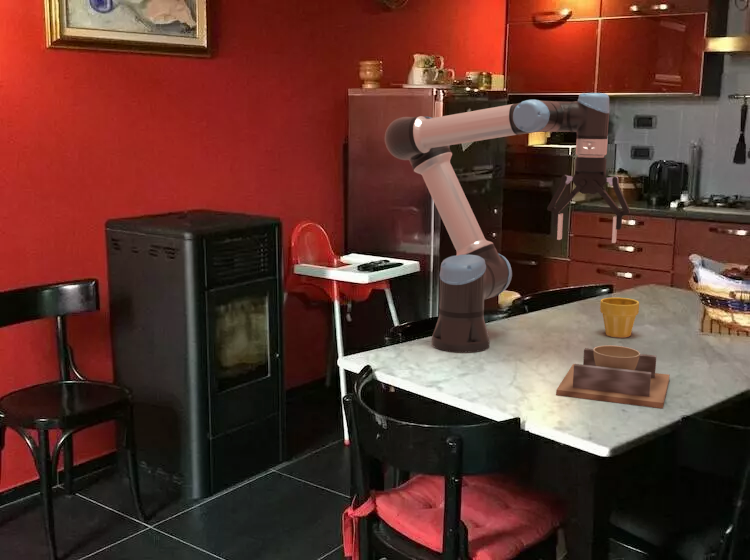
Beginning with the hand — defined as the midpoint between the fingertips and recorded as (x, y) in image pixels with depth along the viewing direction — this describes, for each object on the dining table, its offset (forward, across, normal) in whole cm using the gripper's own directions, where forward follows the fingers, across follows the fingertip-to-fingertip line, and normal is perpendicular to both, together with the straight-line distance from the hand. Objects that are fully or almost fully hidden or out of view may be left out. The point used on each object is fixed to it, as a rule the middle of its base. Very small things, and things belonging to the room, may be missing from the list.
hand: (586, 240), depth 217 cm
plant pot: (+29, +7, +21) cm, 36 cm away
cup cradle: (+29, +12, -29) cm, 43 cm away
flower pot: (+28, +12, -29) cm, 42 cm away
